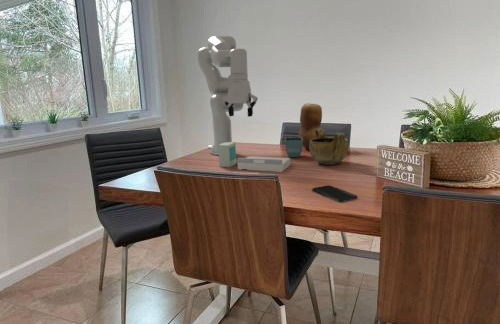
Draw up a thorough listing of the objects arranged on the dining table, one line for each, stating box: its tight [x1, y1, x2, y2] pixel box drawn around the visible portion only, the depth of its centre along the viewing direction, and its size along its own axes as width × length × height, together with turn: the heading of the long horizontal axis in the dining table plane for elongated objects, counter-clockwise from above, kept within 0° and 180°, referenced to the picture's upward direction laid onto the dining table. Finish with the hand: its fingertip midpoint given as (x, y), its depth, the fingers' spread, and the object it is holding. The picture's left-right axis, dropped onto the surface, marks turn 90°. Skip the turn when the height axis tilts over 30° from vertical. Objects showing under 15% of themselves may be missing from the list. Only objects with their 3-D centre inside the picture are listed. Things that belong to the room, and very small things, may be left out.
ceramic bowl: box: [309, 128, 349, 166], centre depth 162 cm, size 22×17×15 cm
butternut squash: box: [297, 102, 323, 151], centre depth 196 cm, size 14×13×25 cm
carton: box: [218, 141, 237, 168], centre depth 166 cm, size 5×8×10 cm, turn 159°
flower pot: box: [284, 137, 303, 158], centre depth 180 cm, size 9×9×9 cm
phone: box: [311, 185, 358, 203], centre depth 119 cm, size 8×1×15 cm
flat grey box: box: [237, 155, 291, 173], centre depth 160 cm, size 20×14×5 cm
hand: (240, 116), depth 164 cm, fingers open, 9 cm apart
